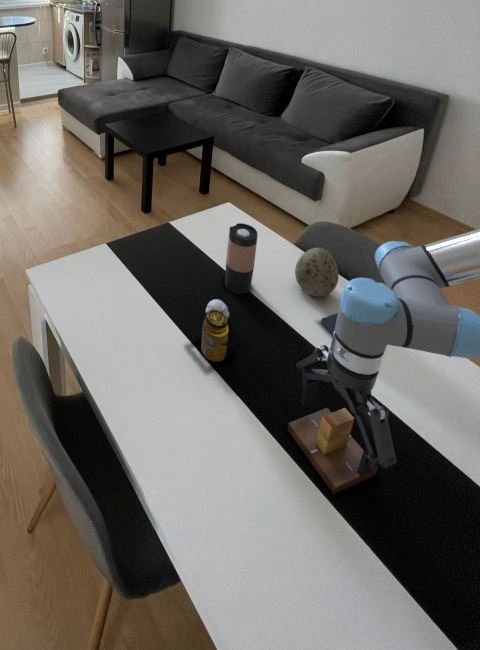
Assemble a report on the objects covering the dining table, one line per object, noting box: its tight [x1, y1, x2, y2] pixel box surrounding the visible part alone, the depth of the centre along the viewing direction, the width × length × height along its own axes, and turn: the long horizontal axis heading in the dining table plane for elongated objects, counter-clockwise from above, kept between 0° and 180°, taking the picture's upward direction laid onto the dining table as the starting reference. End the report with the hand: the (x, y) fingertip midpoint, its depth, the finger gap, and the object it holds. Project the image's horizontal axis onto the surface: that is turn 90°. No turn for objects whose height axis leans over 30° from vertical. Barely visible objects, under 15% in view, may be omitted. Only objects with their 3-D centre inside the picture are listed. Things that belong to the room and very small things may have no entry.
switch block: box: [320, 312, 338, 337], centre depth 109 cm, size 10×8×4 cm
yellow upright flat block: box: [316, 407, 355, 455], centre depth 83 cm, size 6×2×8 cm, turn 106°
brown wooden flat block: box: [287, 407, 379, 495], centre depth 85 cm, size 12×10×3 cm
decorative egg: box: [294, 247, 339, 298], centre depth 121 cm, size 11×11×15 cm
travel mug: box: [224, 222, 258, 295], centre depth 124 cm, size 8×8×20 cm
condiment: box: [200, 310, 230, 363], centre depth 105 cm, size 7×8×12 cm
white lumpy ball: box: [205, 298, 230, 320], centre depth 115 cm, size 6×7×7 cm
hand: (333, 434), depth 84 cm, fingers open, 13 cm apart
